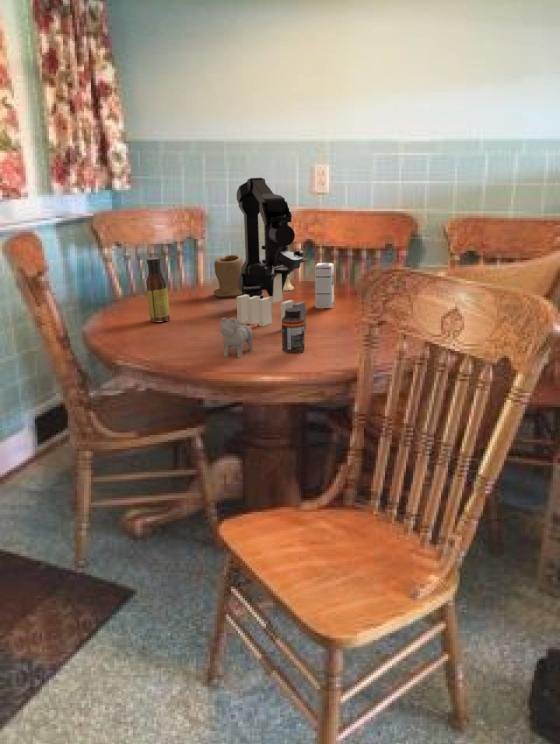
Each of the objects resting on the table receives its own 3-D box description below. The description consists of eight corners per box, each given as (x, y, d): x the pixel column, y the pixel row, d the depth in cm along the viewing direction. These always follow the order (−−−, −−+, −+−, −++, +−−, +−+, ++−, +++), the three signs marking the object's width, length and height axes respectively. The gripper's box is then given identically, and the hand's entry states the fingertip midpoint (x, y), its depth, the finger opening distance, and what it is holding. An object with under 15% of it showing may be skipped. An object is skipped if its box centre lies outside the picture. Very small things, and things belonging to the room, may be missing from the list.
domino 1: (237, 322, 206) (236, 296, 204) (246, 319, 209) (245, 294, 207) (241, 322, 205) (240, 297, 203) (250, 319, 209) (249, 294, 206)
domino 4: (269, 302, 197) (268, 275, 194) (277, 299, 200) (277, 273, 198) (273, 303, 196) (272, 276, 193) (282, 300, 199) (281, 273, 197)
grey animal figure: (216, 360, 169) (214, 319, 165) (237, 346, 180) (236, 308, 176) (234, 362, 167) (233, 321, 163) (255, 348, 178) (254, 309, 174)
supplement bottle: (281, 348, 177) (280, 307, 174) (303, 347, 178) (302, 306, 174) (283, 354, 172) (282, 312, 168) (305, 353, 172) (305, 311, 169)
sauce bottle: (173, 319, 211) (169, 257, 205) (164, 324, 206) (159, 260, 199) (155, 318, 213) (150, 256, 207) (145, 322, 208) (140, 259, 201)
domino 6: (292, 331, 194) (292, 304, 192) (301, 327, 198) (300, 301, 195) (297, 331, 193) (296, 305, 191) (305, 328, 197) (305, 302, 194)
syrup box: (332, 308, 221) (332, 265, 216) (314, 308, 222) (314, 265, 218) (334, 305, 226) (334, 262, 222) (317, 304, 227) (317, 262, 223)
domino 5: (281, 329, 197) (280, 302, 194) (289, 326, 200) (289, 300, 198) (285, 329, 196) (285, 303, 193) (294, 326, 199) (293, 300, 197)
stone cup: (215, 300, 237) (212, 258, 232) (212, 294, 248) (210, 254, 244) (256, 298, 239) (255, 256, 235) (252, 292, 251) (251, 252, 246)
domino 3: (258, 325, 201) (258, 299, 199) (267, 322, 205) (266, 297, 202) (263, 326, 200) (262, 300, 198) (271, 323, 204) (271, 297, 201)
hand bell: (271, 287, 258) (270, 246, 253) (292, 286, 259) (292, 245, 254) (273, 291, 250) (272, 249, 245) (295, 290, 251) (294, 248, 246)
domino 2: (248, 323, 204) (247, 298, 201) (256, 320, 207) (255, 295, 205) (252, 324, 203) (251, 298, 200) (260, 321, 206) (260, 296, 204)
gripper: (278, 247, 181) (279, 303, 186) (315, 239, 195) (315, 292, 200) (246, 245, 187) (248, 299, 192) (284, 237, 201) (285, 288, 206)
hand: (275, 294), depth 197 cm, fingers closed on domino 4, 4 cm apart
